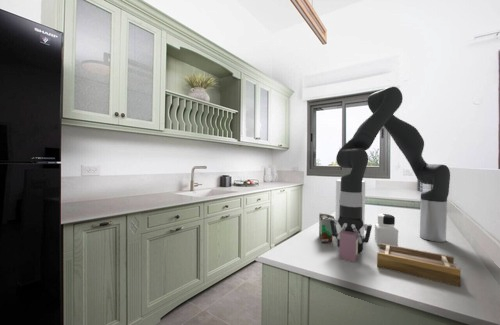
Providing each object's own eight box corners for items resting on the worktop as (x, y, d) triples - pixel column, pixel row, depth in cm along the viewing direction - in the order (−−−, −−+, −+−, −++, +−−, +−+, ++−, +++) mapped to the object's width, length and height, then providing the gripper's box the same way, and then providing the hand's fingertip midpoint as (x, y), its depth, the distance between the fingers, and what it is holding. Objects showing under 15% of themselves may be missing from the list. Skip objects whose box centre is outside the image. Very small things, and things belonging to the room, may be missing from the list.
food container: (337, 245, 92) (338, 220, 92) (321, 244, 93) (322, 219, 93) (332, 235, 104) (333, 213, 104) (318, 234, 105) (319, 213, 105)
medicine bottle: (393, 241, 98) (393, 213, 97) (398, 247, 91) (398, 217, 91) (374, 239, 100) (375, 212, 100) (377, 245, 93) (378, 215, 93)
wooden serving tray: (379, 255, 83) (380, 243, 83) (452, 270, 72) (453, 256, 72) (377, 266, 74) (377, 252, 74) (460, 286, 63) (460, 270, 63)
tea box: (345, 249, 88) (345, 226, 88) (360, 252, 85) (360, 228, 85) (339, 258, 80) (339, 232, 80) (355, 262, 77) (356, 235, 77)
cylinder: (360, 230, 112) (361, 179, 112) (367, 239, 100) (368, 182, 100) (333, 228, 115) (334, 179, 115) (336, 236, 103) (337, 181, 103)
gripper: (374, 204, 82) (373, 252, 82) (332, 200, 90) (331, 243, 90) (372, 208, 75) (371, 259, 75) (327, 203, 83) (326, 249, 83)
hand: (349, 250), depth 83 cm, fingers open, 5 cm apart
